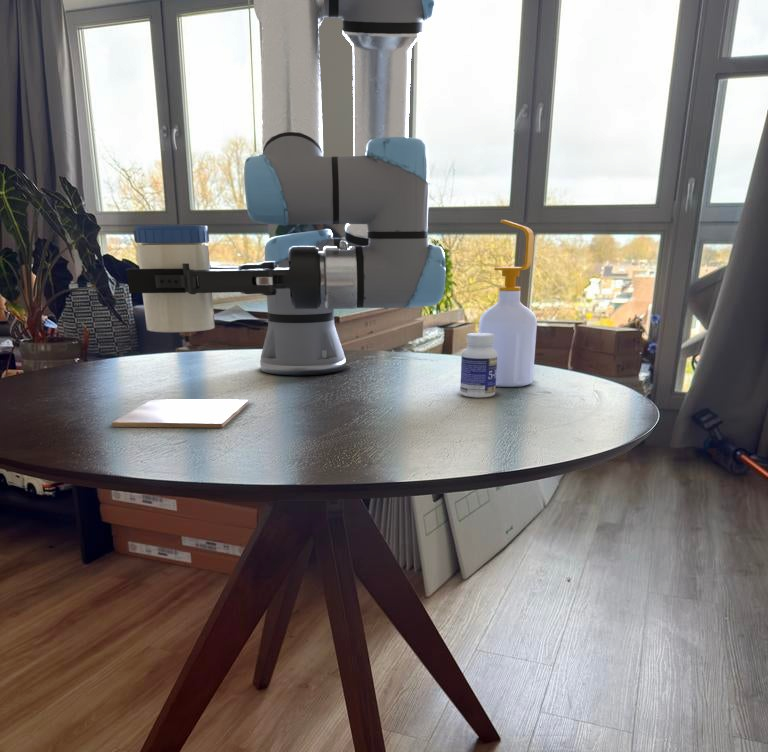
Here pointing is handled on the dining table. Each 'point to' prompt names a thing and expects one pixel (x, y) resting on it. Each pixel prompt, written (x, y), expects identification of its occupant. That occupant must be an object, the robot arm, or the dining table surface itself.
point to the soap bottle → (512, 325)
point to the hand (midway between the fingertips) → (137, 279)
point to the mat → (182, 413)
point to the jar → (176, 307)
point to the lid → (171, 234)
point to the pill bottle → (478, 366)
